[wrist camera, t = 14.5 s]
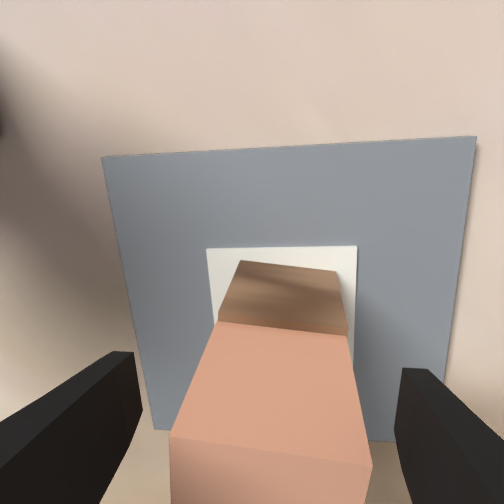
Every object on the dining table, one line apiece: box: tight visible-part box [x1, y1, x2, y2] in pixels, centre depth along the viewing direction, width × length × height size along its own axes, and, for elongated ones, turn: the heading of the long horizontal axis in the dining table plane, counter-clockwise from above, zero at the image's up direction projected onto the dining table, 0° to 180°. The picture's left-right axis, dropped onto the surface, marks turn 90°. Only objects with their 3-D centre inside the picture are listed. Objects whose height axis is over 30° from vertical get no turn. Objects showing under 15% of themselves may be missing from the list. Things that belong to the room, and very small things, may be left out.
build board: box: [101, 136, 477, 442], centre depth 19 cm, size 16×16×1 cm
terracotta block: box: [169, 321, 373, 504], centre depth 11 cm, size 4×4×5 cm
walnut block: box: [218, 260, 349, 338], centre depth 16 cm, size 4×4×5 cm
